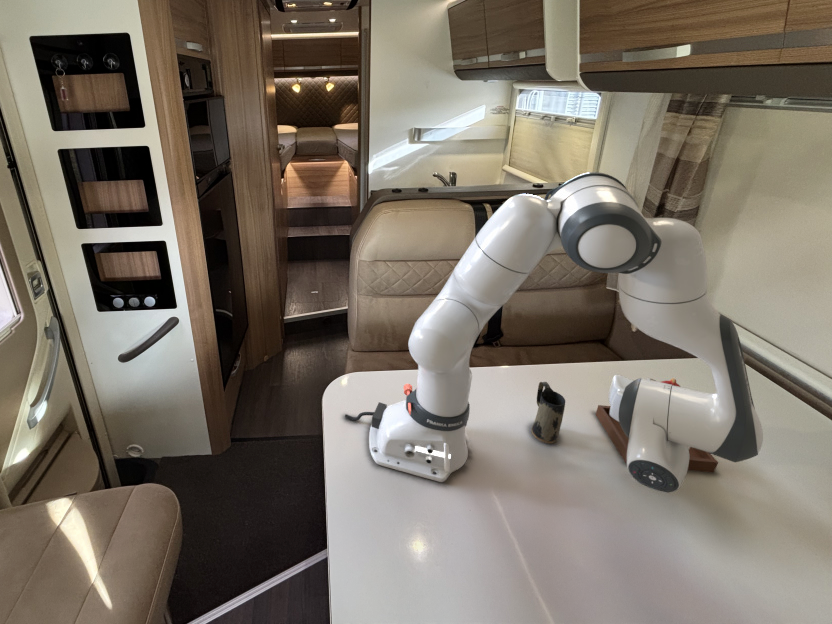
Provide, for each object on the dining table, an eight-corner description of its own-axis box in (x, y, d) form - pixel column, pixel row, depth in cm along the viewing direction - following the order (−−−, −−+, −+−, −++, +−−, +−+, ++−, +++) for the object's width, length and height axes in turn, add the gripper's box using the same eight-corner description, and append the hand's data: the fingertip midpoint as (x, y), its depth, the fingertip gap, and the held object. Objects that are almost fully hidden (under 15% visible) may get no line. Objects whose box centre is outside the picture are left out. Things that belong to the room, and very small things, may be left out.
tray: (625, 463, 94) (629, 453, 93) (595, 414, 107) (598, 404, 106) (713, 472, 92) (718, 462, 91) (671, 421, 105) (675, 411, 104)
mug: (562, 443, 99) (573, 403, 95) (539, 444, 99) (549, 404, 94) (544, 417, 106) (553, 379, 102) (522, 418, 106) (531, 380, 102)
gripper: (740, 441, 76) (739, 399, 86) (607, 388, 89) (620, 357, 99) (727, 466, 79) (728, 423, 88) (600, 411, 92) (613, 379, 101)
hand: (670, 388), depth 94 cm, fingers closed on onion, 6 cm apart
